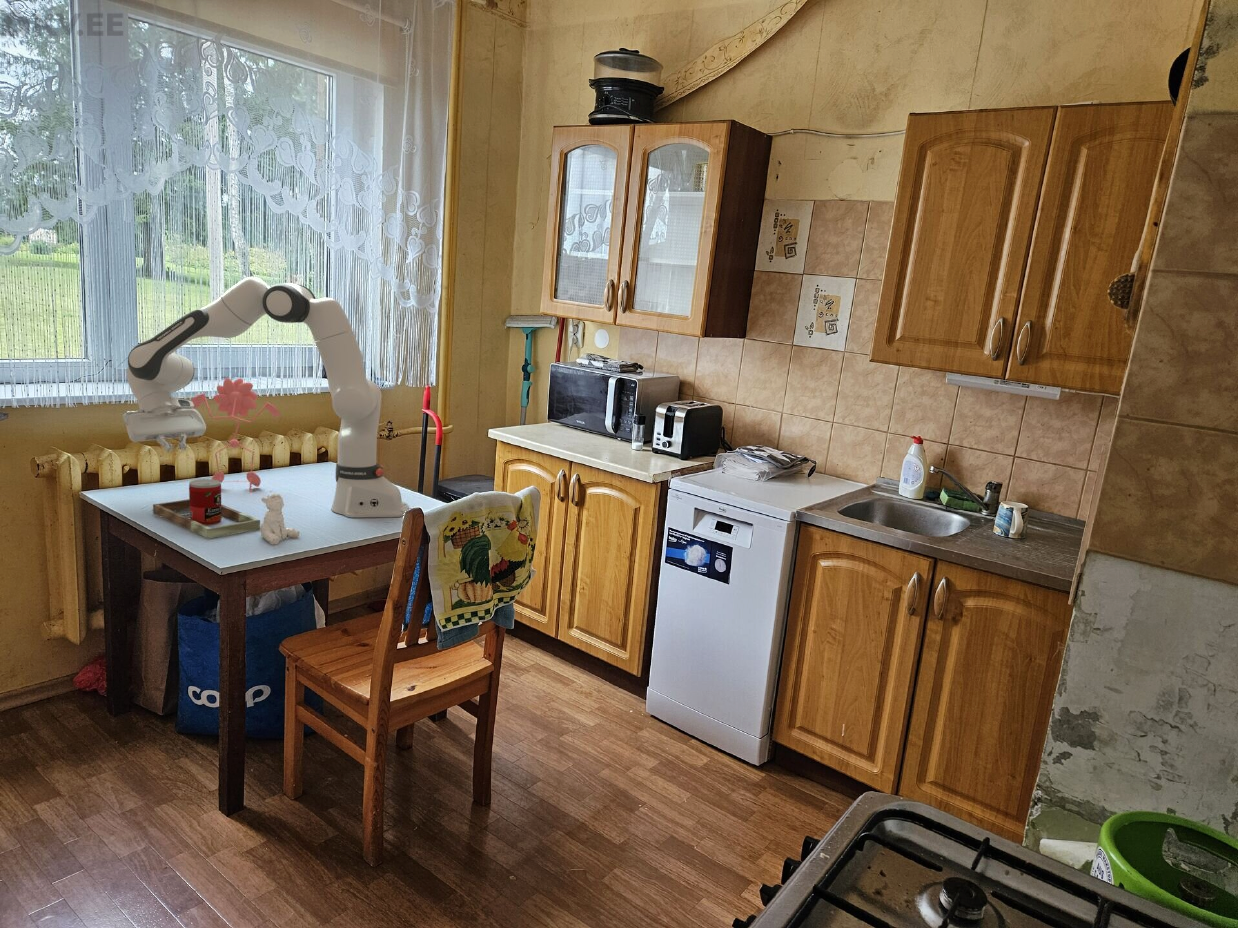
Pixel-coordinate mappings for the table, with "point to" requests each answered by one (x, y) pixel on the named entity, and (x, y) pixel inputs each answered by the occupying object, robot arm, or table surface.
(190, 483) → the canned food
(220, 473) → the flower headed marionette
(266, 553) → the table surface
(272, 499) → the sitting furry creature
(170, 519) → the shallow wooden tray
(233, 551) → the table surface
